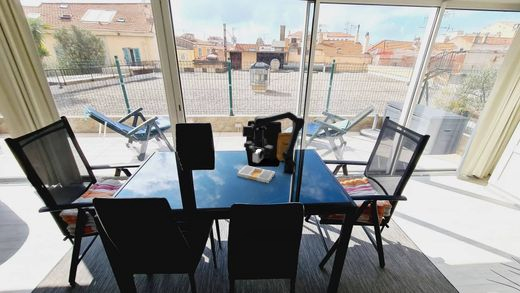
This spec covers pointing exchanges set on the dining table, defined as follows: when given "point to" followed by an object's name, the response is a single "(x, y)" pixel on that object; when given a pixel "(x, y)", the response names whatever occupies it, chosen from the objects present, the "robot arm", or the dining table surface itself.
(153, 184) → the dining table surface
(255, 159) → the grey block
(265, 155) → the magazine
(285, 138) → the coffee package
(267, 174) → the rack
